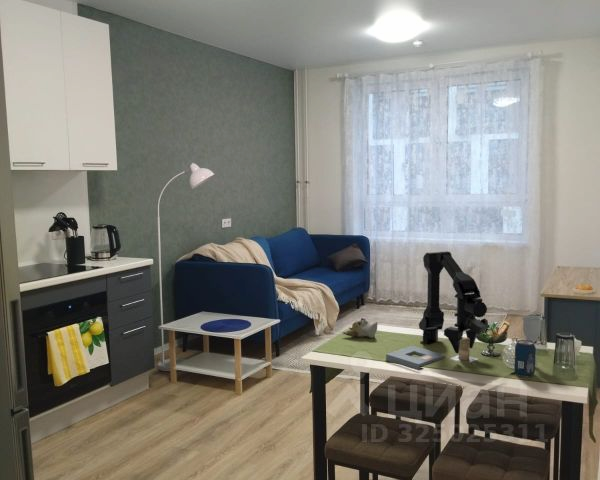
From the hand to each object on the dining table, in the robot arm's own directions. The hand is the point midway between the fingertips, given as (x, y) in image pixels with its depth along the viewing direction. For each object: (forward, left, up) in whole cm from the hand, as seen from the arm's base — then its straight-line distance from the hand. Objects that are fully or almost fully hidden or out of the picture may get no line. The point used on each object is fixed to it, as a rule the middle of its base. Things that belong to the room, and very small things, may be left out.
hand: (464, 350), depth 218 cm
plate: (0, 0, -5) cm, 5 cm away
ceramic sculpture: (+3, -51, -5) cm, 52 cm away
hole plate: (+12, -14, -5) cm, 19 cm away
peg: (0, 0, -3) cm, 3 cm away
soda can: (-5, +22, -5) cm, 23 cm away
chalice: (-17, +18, -5) cm, 25 cm away
